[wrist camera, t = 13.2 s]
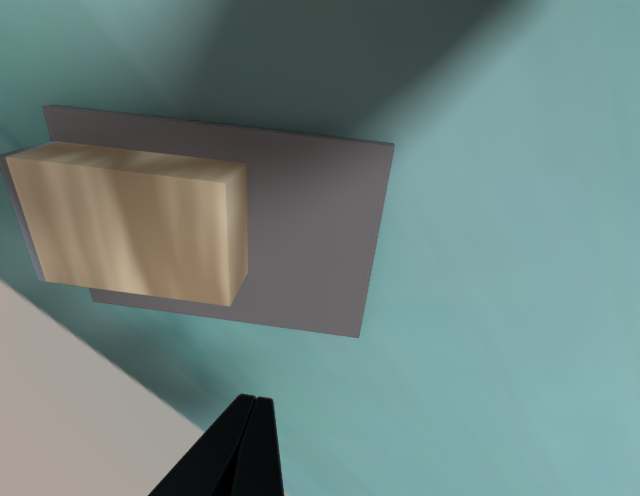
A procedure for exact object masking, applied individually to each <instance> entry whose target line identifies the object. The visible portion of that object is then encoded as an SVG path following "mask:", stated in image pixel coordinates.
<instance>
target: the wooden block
mask: <svg viewBox="0 0 640 496" xmlns="http://www.w3.org/2000/svg"><path fill="white" fill-rule="evenodd" d="M0 170H1V173H2V176H3V179H4V182H5V185H6V187H7V190H8V193H9V196H10V199H11V202H12V205H13V208H14V211H15V214H16V217H17V220H18V223H19V226H20V229H21V232H22V234H23V237H24V240H25V243H26V246H27V249H28V252H29V255H30V258H31V261H32V264H33V267H34V270H35V273H36V276H37V279H38V281H45V282H52V283H60V284H67V285H74V286H82V287H89V288H97V289H104V290H112V291H119V292H126V293H134V294H141V295H149V296H156V297H164V298H171V299H178V300H186V301H193V302H201V303H208V304H216V305H223V306H231V304H232V302H233V300H234V298H235V296H236V294H237V292H238V290H239V289H240V287H241V285H242V283H243V281H244V279H245V277H246V275H247V273H248V240H247V163H240V162H232V161H223V160H214V159H206V158H197V157H189V156H180V155H171V154H163V153H154V152H145V151H137V150H128V149H119V148H111V147H102V146H93V145H85V144H76V143H67V142H59V141H50V142H46V143H42V144H38V145H35V146H31V147H27V148H23V149H20V150H16V151H12V152H8V153H5V154H1V155H0Z"/></svg>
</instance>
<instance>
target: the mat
mask: <svg viewBox="0 0 640 496" xmlns="http://www.w3.org/2000/svg"><path fill="white" fill-rule="evenodd" d="M42 107H43V111H44V115H45V119H46V123H47V126H48V130H49V134H50V138H51V141H59V142H67V143H76V144H85V145H93V146H102V147H111V148H119V149H128V150H137V151H145V152H154V153H163V154H171V155H180V156H189V157H197V158H206V159H214V160H223V161H232V162H240V163H247V240H248V273H247V275H246V277H245V279H244V281H243V283H242V285H241V287H240V289H239V290H238V292H237V294H236V296H235V298H234V300H233V302H232V304H231V306H223V305H216V304H208V303H201V302H193V301H186V300H178V299H171V298H164V297H156V296H149V295H141V294H134V293H126V292H119V291H112V290H104V289H97V288H90V292H91V295H92V299H93V302H100V303H108V304H115V305H122V306H129V307H137V308H144V309H151V310H158V311H166V312H173V313H180V314H188V315H195V316H202V317H209V318H217V319H224V320H231V321H238V322H246V323H253V324H260V325H267V326H275V327H282V328H289V329H297V330H304V331H311V332H318V333H326V334H333V335H340V336H347V337H355V338H359V335H360V330H361V324H362V319H363V313H364V308H365V303H366V297H367V292H368V287H369V281H370V276H371V270H372V265H373V260H374V254H375V249H376V244H377V238H378V233H379V227H380V222H381V217H382V211H383V206H384V201H385V195H386V190H387V184H388V179H389V174H390V168H391V163H392V158H393V152H394V147H395V146H394V143H386V142H377V141H368V140H359V139H351V138H342V137H333V136H324V135H315V134H306V133H297V132H288V131H279V130H271V129H262V128H253V127H244V126H235V125H226V124H217V123H208V122H199V121H191V120H182V119H173V118H164V117H155V116H146V115H137V114H128V113H120V112H111V111H102V110H93V109H84V108H75V107H66V106H57V105H49V106H42Z"/></svg>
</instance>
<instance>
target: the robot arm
mask: <svg viewBox="0 0 640 496" xmlns="http://www.w3.org/2000/svg"><path fill="white" fill-rule="evenodd" d="M148 496H284V489H283V480H282V472H281V463H280V454H279V445H278V437H277V428H276V419H275V410H274V402H273V399H272V398H266V397H257V398H256V397H255V396H254V395H248V394H240V395H238V396H237V397H236V398H235V400H234V401H233V402H232V403H231V404H230V405H229V406H228V407H227V408H226V410H225V411H224V412H223V413H222V414H221V415H220V416H219V417H218V418H217V420H216V421H215V422H214V423H213V424H212V425H211V426H210V427H209V428H208V429H207V431H206V432H205V433H204V434H203V435H202V436H201V437H200V438H199V439H198V441H197V442H196V443H195V444H194V445H193V446H192V447H191V448H190V449H189V451H188V452H187V453H186V454H185V455H184V456H183V457H182V458H181V459H180V461H179V462H178V463H177V464H176V465H175V466H174V467H173V468H172V470H171V471H170V472H169V473H168V474H167V475H166V476H165V477H164V478H163V479H162V480H161V482H160V483H159V484H158V485H157V486H156V487H155V488H154V489H153V490H152V492H151V493H150V494H149V495H148Z"/></svg>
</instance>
